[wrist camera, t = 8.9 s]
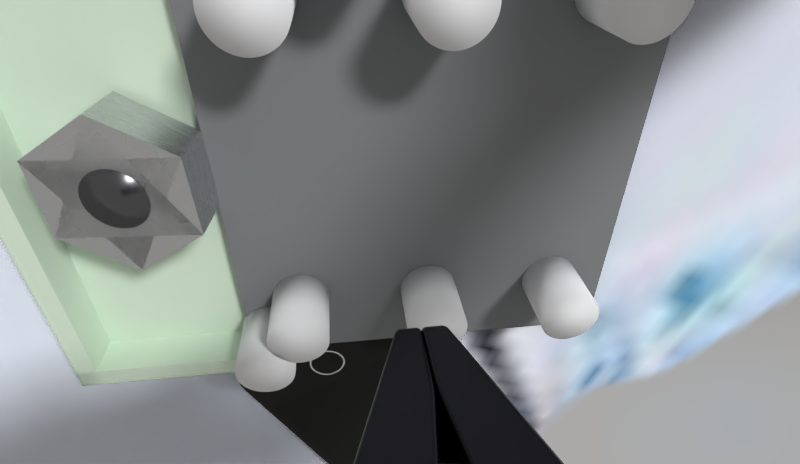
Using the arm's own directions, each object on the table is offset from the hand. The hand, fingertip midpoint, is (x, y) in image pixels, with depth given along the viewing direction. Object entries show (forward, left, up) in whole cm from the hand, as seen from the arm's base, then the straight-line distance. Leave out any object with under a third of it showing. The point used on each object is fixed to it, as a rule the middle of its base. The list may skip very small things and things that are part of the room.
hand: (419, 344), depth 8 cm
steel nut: (+8, +2, -11) cm, 14 cm away
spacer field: (+1, +2, -12) cm, 12 cm away
